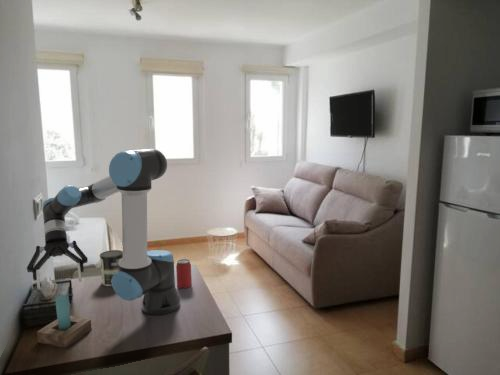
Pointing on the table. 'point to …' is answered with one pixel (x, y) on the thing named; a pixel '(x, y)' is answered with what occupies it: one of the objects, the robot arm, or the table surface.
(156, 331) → the table surface
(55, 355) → the table surface
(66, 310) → the teal pin
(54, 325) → the walnut hole block
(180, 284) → the beer can
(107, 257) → the coffee can
